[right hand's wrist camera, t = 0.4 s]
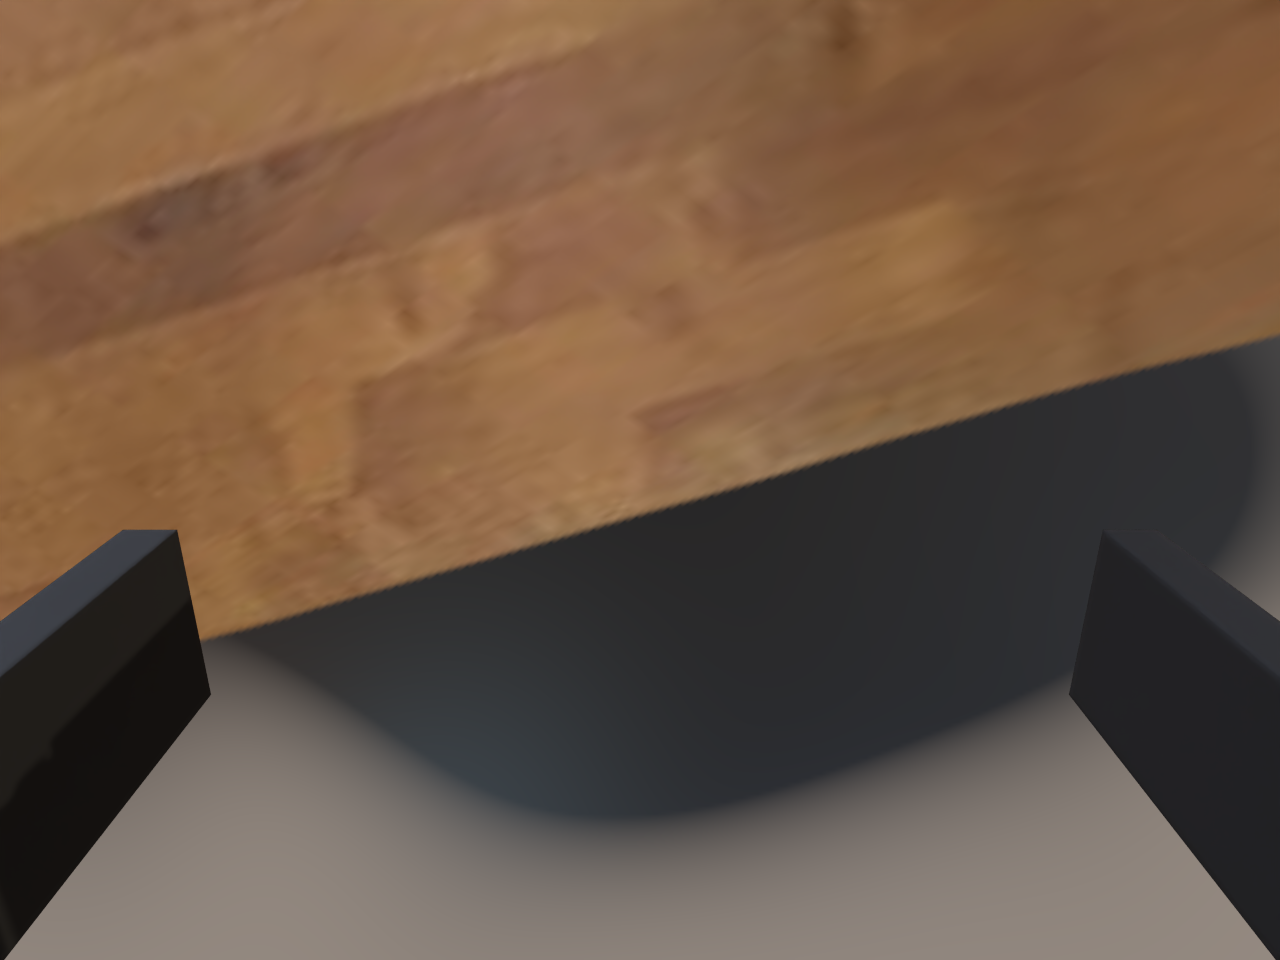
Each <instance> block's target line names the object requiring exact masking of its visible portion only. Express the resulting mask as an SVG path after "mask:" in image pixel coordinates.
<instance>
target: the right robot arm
mask: <svg viewBox="0 0 1280 960" xmlns="http://www.w3.org/2000/svg"><path fill="white" fill-rule="evenodd" d="M210 695H211V693H210V688H209V683H208V678H207V673H206V668H205V663H204V659H203V654H202V649H201V644H200V639H199V634H198V629H197V624H196V620H195V615H194V610H193V605H192V600H191V595H190V590H189V586H188V581H187V576H186V571H185V566H184V561H183V556H182V552H181V547H180V542H179V537H178V532H177V530H122V531H121V532H120V533H118V534H117V535H115V536H114V537H113V538H111V539H110V540H109V541H107V542H106V543H105V544H103V545H102V546H101V547H99V548H98V549H97V550H95V551H94V552H93V553H91V554H90V555H89V556H87V557H86V558H85V559H83V560H82V561H81V562H79V563H78V564H77V565H75V566H74V567H73V568H71V569H70V570H69V571H67V572H66V573H65V574H63V575H62V576H61V577H59V578H58V579H56V580H55V581H54V582H52V583H51V584H50V585H48V586H47V587H46V588H44V589H43V590H42V591H40V592H39V593H38V594H36V595H35V596H34V597H32V598H31V599H30V600H28V601H27V602H26V603H24V604H23V605H22V606H20V607H19V608H18V609H16V610H15V611H14V612H12V613H11V614H10V615H8V616H7V617H6V618H4V619H3V620H2V621H0V960H4V959H5V958H6V957H7V956H8V954H9V953H10V952H11V950H12V949H13V948H14V947H15V945H16V944H17V943H18V941H19V940H20V939H21V938H22V936H23V935H24V934H25V932H26V931H27V930H28V929H29V927H30V926H31V925H32V923H33V922H34V921H35V920H36V918H37V917H38V916H39V915H40V913H41V912H42V911H43V909H44V908H45V907H46V906H47V904H48V903H49V902H50V900H51V899H52V898H53V897H54V895H55V894H56V893H57V891H58V890H59V889H60V888H61V886H62V885H63V884H64V882H65V881H66V880H67V879H68V877H69V876H70V875H71V873H72V872H73V871H74V870H75V868H76V867H77V866H78V864H79V863H80V862H81V861H82V859H83V858H84V857H85V855H86V854H87V853H88V852H89V850H90V849H91V848H92V847H93V845H94V844H95V843H96V841H97V840H98V839H99V838H100V836H101V835H102V834H103V832H104V831H105V830H106V829H107V827H108V826H109V825H110V823H111V822H112V821H113V820H114V818H115V817H116V816H117V814H118V813H119V812H120V811H121V809H122V808H123V807H124V805H125V804H126V803H127V802H128V800H129V799H130V798H131V796H132V795H133V794H134V793H135V791H136V790H137V789H138V788H139V786H140V785H141V784H142V782H143V781H144V780H145V779H146V777H147V776H148V775H149V773H150V772H151V771H152V770H153V768H154V767H155V766H156V764H157V763H158V762H159V761H160V759H161V758H162V757H163V755H164V754H165V753H166V752H167V750H168V749H169V748H170V746H171V745H172V744H173V743H174V741H175V740H176V739H177V737H178V736H179V735H180V734H181V732H182V731H183V730H184V728H185V727H186V726H187V725H188V723H189V722H190V721H191V720H192V718H193V717H194V716H195V714H196V713H197V712H198V710H199V709H200V708H201V707H202V705H203V704H204V703H205V702H206V700H207V699H208V698H209V696H210ZM1069 695H1070V696H1071V698H1072V699H1073V700H1074V702H1075V703H1076V704H1077V705H1078V707H1079V708H1080V709H1081V710H1082V712H1083V713H1084V714H1085V716H1086V717H1087V718H1088V720H1089V721H1090V722H1091V723H1092V725H1093V726H1094V727H1095V728H1096V730H1097V731H1098V732H1099V734H1100V735H1101V736H1102V738H1103V739H1104V740H1105V741H1106V743H1107V744H1108V745H1109V746H1110V748H1111V749H1112V750H1113V752H1114V753H1115V754H1116V755H1117V757H1118V758H1119V759H1120V761H1121V762H1122V763H1123V764H1124V766H1125V767H1126V768H1127V769H1128V771H1129V772H1130V773H1131V775H1132V776H1133V777H1134V779H1135V780H1136V781H1137V782H1138V784H1139V785H1140V786H1141V788H1142V789H1143V790H1144V791H1145V793H1146V794H1147V795H1148V796H1149V798H1150V799H1151V800H1152V802H1153V803H1154V804H1155V805H1156V807H1157V808H1158V809H1159V811H1160V812H1161V813H1162V814H1163V816H1164V817H1165V818H1166V820H1167V821H1168V822H1169V823H1170V825H1171V826H1172V827H1173V829H1174V830H1175V831H1176V832H1177V834H1178V835H1179V836H1180V838H1181V839H1182V840H1183V841H1184V843H1185V844H1186V845H1187V847H1188V848H1189V849H1190V850H1191V852H1192V853H1193V854H1194V855H1195V857H1196V858H1197V859H1198V861H1199V862H1200V863H1201V864H1202V866H1203V867H1204V868H1205V870H1206V871H1207V872H1208V873H1209V875H1210V876H1211V877H1212V879H1213V880H1214V881H1215V882H1216V884H1217V885H1218V886H1219V888H1220V889H1221V890H1222V891H1223V893H1224V894H1225V895H1226V897H1227V898H1228V899H1229V900H1230V902H1231V903H1232V904H1233V905H1234V907H1235V908H1236V909H1237V911H1238V912H1239V913H1240V914H1241V916H1242V917H1243V918H1244V920H1245V921H1246V922H1247V923H1248V925H1249V926H1250V927H1251V929H1252V930H1253V931H1254V932H1255V934H1256V935H1257V936H1258V938H1259V939H1260V940H1261V941H1262V943H1263V944H1264V945H1265V947H1266V948H1267V949H1268V950H1269V952H1270V953H1271V954H1272V956H1273V957H1274V958H1275V959H1276V960H1280V621H1278V620H1277V619H1276V618H1274V617H1273V616H1272V615H1270V614H1269V613H1268V612H1266V611H1265V610H1264V609H1262V608H1261V607H1260V606H1258V605H1257V604H1256V603H1254V602H1253V601H1252V600H1250V599H1249V598H1248V597H1246V596H1245V595H1244V594H1242V593H1241V592H1240V591H1238V590H1237V589H1236V588H1234V587H1233V586H1232V585H1230V584H1229V583H1228V582H1226V581H1225V580H1224V579H1222V578H1221V577H1219V576H1218V575H1217V574H1215V573H1214V572H1213V571H1211V570H1210V569H1209V568H1207V567H1206V566H1205V565H1203V564H1202V563H1201V562H1199V561H1198V560H1197V559H1195V558H1194V557H1193V556H1191V555H1190V554H1189V553H1187V552H1186V551H1185V550H1183V549H1182V548H1181V547H1179V546H1178V545H1177V544H1175V543H1174V542H1173V541H1171V540H1170V539H1169V538H1167V537H1166V536H1165V535H1163V534H1162V533H1160V532H1159V531H1158V530H1103V532H1102V537H1101V542H1100V547H1099V552H1098V556H1097V562H1096V566H1095V571H1094V576H1093V581H1092V586H1091V591H1090V595H1089V600H1088V605H1087V610H1086V615H1085V620H1084V624H1083V629H1082V634H1081V639H1080V644H1079V649H1078V654H1077V659H1076V664H1075V668H1074V673H1073V678H1072V683H1071V688H1070V693H1069Z"/></svg>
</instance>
